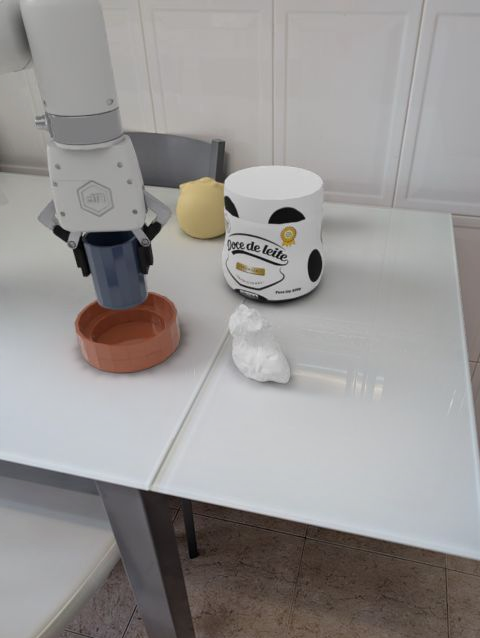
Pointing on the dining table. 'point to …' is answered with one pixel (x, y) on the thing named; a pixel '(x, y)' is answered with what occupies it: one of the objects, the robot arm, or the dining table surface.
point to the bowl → (128, 334)
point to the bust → (256, 347)
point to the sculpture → (202, 208)
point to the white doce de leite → (273, 232)
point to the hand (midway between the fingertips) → (117, 269)
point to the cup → (115, 269)
